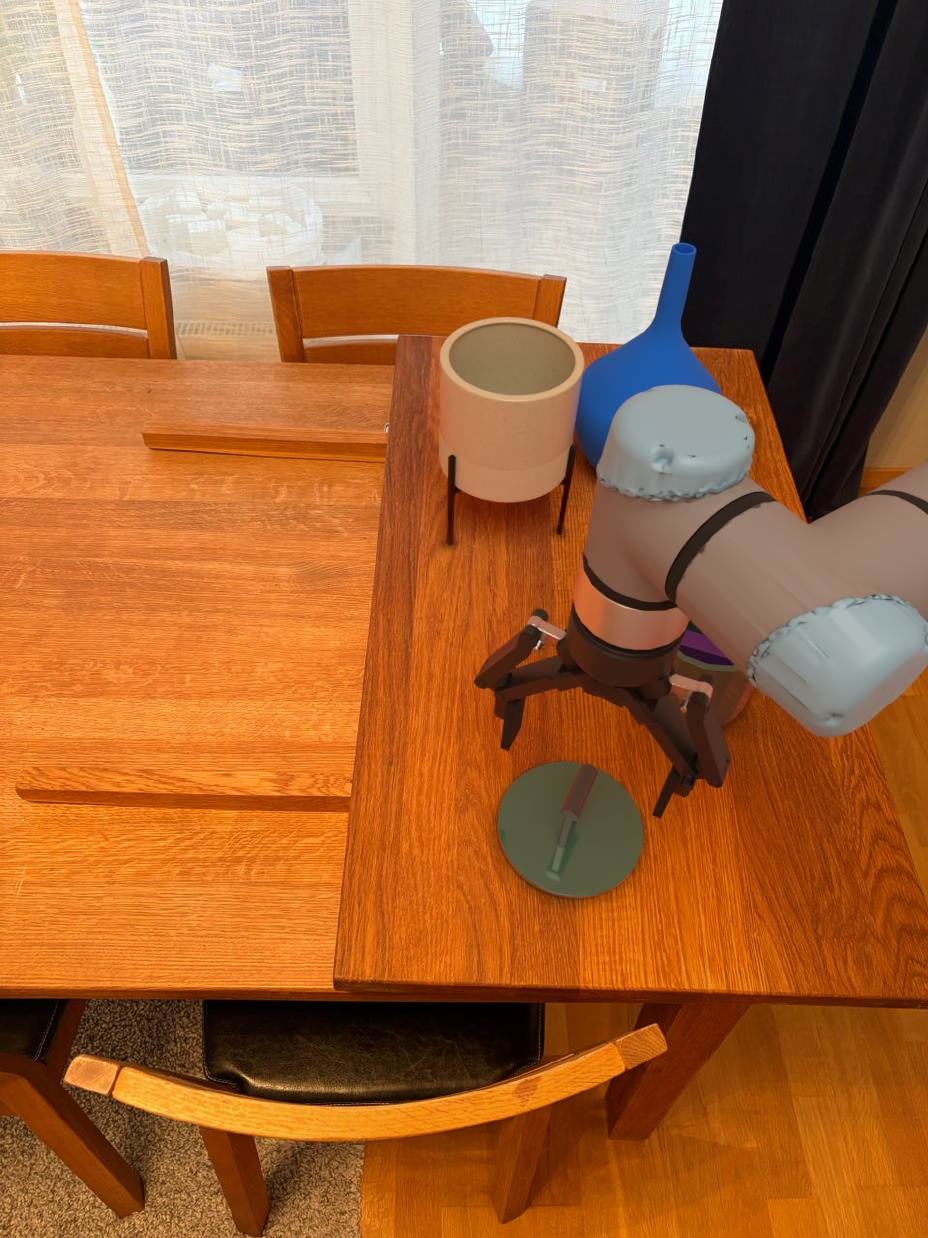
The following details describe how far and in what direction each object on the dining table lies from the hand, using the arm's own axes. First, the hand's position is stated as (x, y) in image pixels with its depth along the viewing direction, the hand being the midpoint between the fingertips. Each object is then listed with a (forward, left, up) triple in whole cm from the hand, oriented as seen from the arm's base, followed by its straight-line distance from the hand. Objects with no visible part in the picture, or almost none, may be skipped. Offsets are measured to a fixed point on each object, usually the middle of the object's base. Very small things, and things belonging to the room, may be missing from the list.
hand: (584, 770), depth 72 cm
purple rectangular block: (-5, -23, -9) cm, 25 cm away
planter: (+24, -36, -12) cm, 45 cm away
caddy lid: (0, 0, -11) cm, 11 cm away
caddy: (-5, -22, -11) cm, 25 cm away
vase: (+12, -53, -12) cm, 55 cm away
